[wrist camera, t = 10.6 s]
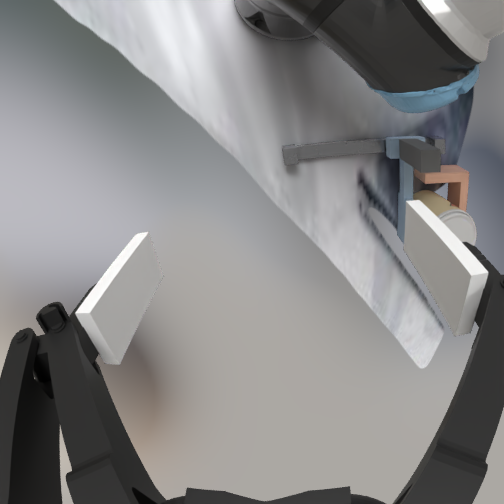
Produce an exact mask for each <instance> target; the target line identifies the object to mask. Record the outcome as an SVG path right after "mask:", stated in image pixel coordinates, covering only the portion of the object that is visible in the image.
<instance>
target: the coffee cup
mask: <svg viewBox="0 0 504 504" xmlns="http://www.w3.org/2000/svg"><path fill="white" fill-rule="evenodd" d="M413 199H414V200H420V201H421V202H422V203H423V204H424V205H425V206H426V207H427V208H428V209H429V210H430V211H431V212H433V213H434V214H435V215H436V216H437V217H438V218H439V219H440V220H441V221H442V222H443V223H444V224H445V225H446V226H447V227H448V228H449V229H450V230H451V231H452V233H453V234H454V235H455V236H456V237H457V238H458V239H459V240H460V241H461V242H468V243H470V244H472V245H473V246H475V242H476V236H477V232H476V227H475V223H474V221H473V219H472V217H471V216H470V215H469V214H468V213H466V212H465V211H463V210H461V209H459V208H458V207H457V206H455V205H454V204H452V203H451V202H449V201H448V200H446V199H444V198H443V197H441V196H440V195H438V194H436V193H435V192H433V191H430V190H421V191H418V192H416V193H414V194H413Z"/></svg>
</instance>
